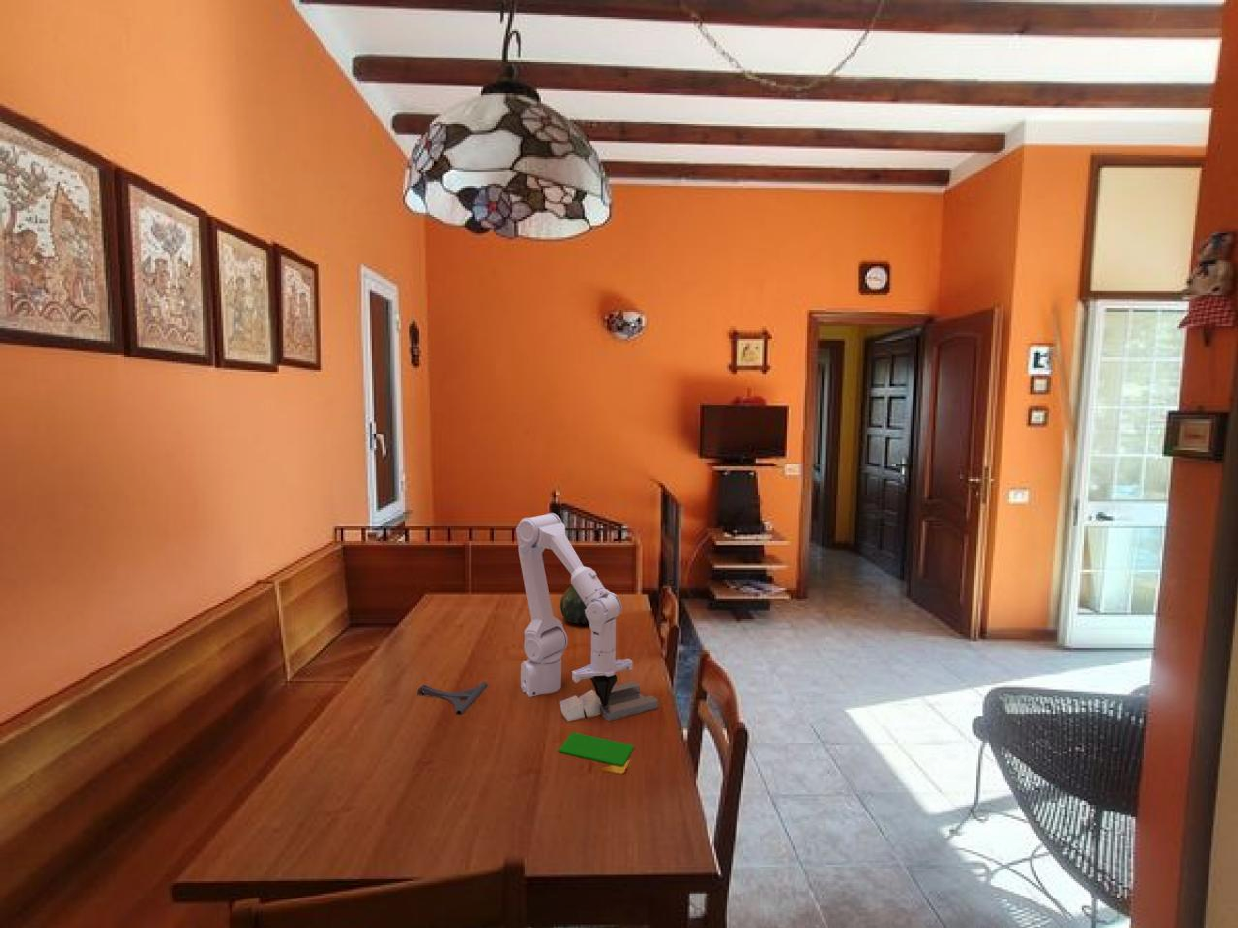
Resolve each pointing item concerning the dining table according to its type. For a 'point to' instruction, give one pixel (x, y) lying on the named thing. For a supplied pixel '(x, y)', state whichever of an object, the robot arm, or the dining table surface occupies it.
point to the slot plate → (627, 701)
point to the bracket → (455, 696)
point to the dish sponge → (599, 751)
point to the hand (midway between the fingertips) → (602, 704)
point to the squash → (573, 607)
